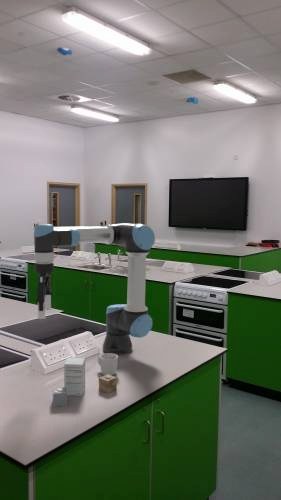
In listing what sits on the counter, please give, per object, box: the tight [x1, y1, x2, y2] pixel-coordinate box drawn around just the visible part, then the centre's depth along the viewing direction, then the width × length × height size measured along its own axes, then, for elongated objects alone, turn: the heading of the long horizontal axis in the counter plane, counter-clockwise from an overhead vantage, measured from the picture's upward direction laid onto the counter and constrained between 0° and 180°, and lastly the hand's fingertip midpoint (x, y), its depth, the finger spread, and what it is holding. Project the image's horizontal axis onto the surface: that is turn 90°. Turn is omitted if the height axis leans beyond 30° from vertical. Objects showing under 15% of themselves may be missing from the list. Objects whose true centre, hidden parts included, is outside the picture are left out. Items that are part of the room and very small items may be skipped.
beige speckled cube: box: [98, 374, 118, 394], centre depth 174 cm, size 5×5×5 cm
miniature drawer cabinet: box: [63, 357, 86, 397], centre depth 171 cm, size 7×7×13 cm
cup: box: [97, 352, 119, 376], centre depth 191 cm, size 11×8×8 cm
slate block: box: [52, 386, 68, 408], centre depth 162 cm, size 5×5×5 cm
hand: (44, 314), depth 177 cm, fingers open, 13 cm apart
